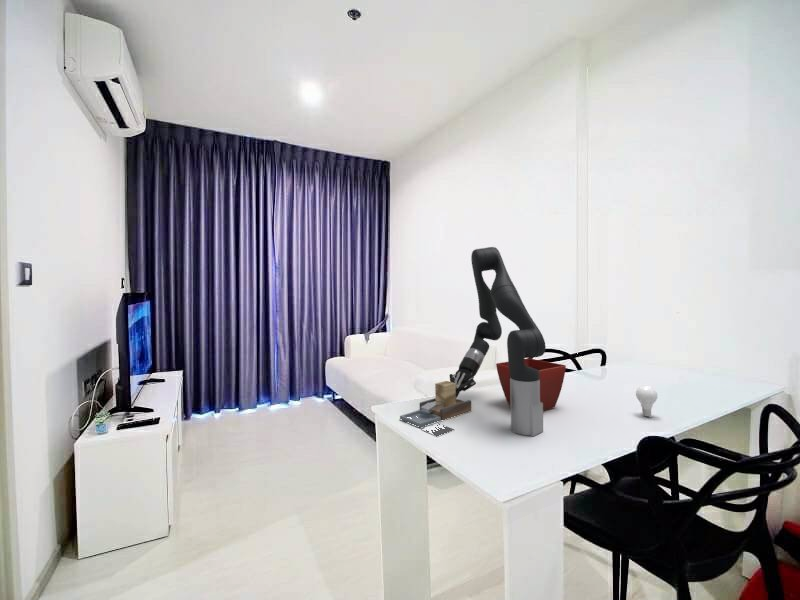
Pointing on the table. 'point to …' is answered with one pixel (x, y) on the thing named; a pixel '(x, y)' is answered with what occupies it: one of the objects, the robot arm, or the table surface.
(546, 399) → the plant pot
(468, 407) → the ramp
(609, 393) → the table surface
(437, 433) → the mat
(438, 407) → the chip
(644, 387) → the lightbulb
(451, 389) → the tall wooden block
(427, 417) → the tray
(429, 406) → the chip
